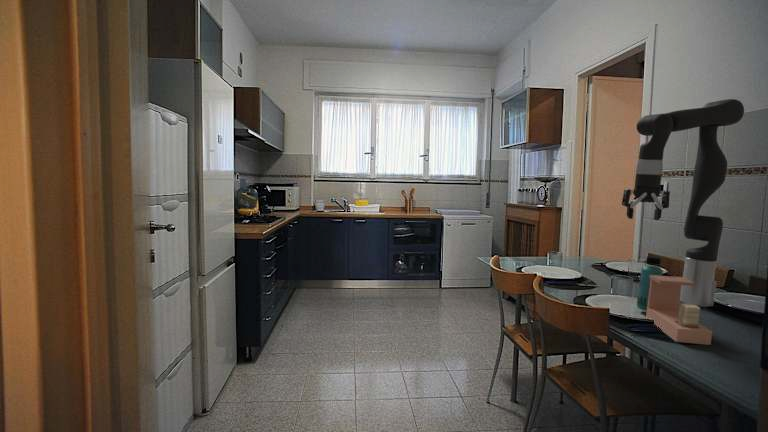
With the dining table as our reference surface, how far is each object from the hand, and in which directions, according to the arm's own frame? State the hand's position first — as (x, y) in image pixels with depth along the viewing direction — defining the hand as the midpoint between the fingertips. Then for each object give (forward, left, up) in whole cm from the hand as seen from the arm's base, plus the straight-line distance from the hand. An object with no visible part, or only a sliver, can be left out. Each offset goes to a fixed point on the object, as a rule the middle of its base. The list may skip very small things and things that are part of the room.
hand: (643, 219), depth 141 cm
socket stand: (-3, +21, -32) cm, 38 cm away
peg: (-4, +26, -32) cm, 41 cm away
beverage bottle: (-2, +6, -32) cm, 33 cm away
